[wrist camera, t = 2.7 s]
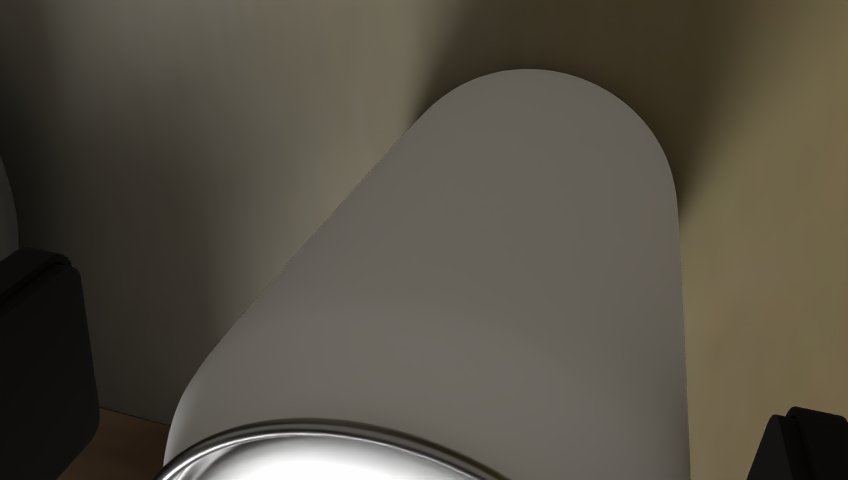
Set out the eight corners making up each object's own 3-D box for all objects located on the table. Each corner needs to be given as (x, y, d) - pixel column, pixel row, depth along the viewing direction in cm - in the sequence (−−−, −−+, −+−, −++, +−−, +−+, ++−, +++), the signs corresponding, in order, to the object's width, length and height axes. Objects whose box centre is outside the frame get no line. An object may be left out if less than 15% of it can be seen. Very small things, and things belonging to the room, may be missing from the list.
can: (418, 34, 18) (69, 302, 7) (717, 99, 17) (811, 521, 6) (382, 283, 21) (99, 725, 10) (633, 351, 20) (600, 920, 9)
